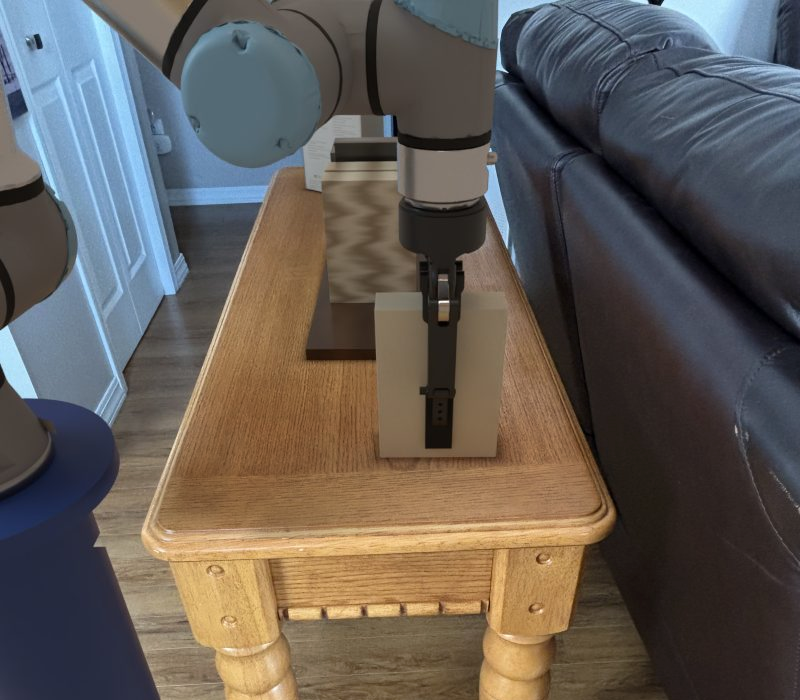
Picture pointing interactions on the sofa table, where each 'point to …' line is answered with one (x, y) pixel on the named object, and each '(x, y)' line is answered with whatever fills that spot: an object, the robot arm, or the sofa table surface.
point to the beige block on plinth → (359, 248)
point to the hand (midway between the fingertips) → (437, 433)
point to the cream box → (407, 371)
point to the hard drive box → (323, 139)
